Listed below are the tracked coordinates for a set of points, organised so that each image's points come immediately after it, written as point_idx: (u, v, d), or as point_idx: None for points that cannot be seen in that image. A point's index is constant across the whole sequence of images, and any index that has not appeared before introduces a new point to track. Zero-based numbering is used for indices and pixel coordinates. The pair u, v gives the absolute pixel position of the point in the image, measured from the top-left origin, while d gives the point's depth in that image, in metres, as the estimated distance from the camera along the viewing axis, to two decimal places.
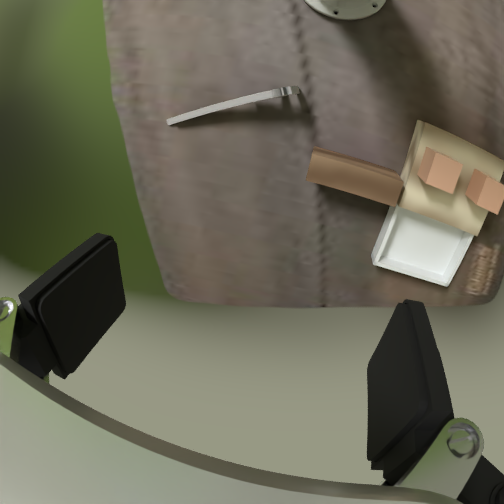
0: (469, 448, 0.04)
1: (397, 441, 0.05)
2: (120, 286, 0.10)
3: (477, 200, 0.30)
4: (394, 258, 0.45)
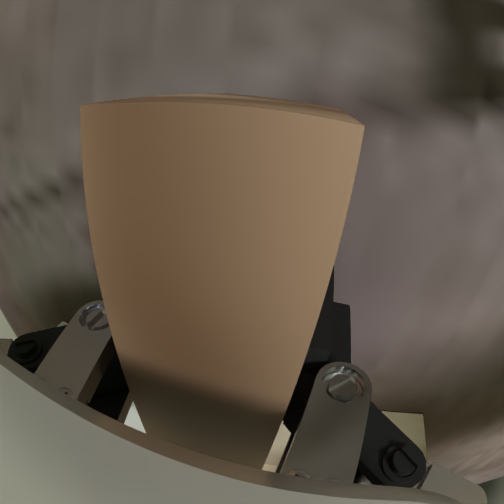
0: (355, 388, 0.06)
1: None
2: None
3: None
4: None
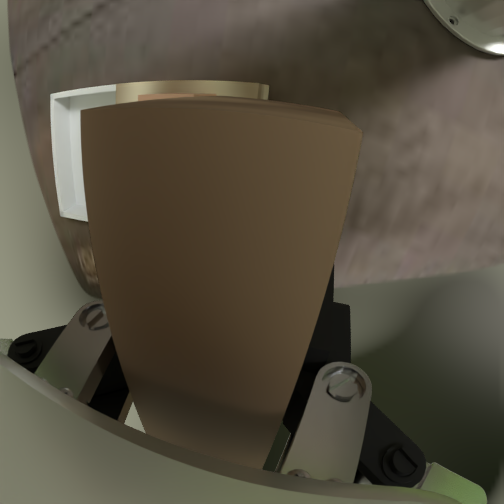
0: (356, 388, 0.06)
1: None
2: None
3: None
4: (71, 123, 0.27)
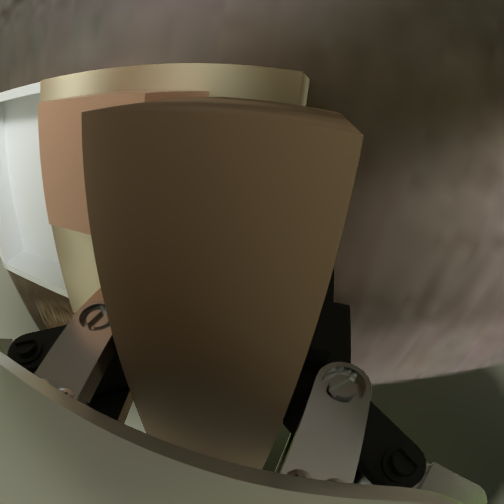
0: (355, 388, 0.06)
1: None
2: None
3: None
4: (6, 140, 0.16)
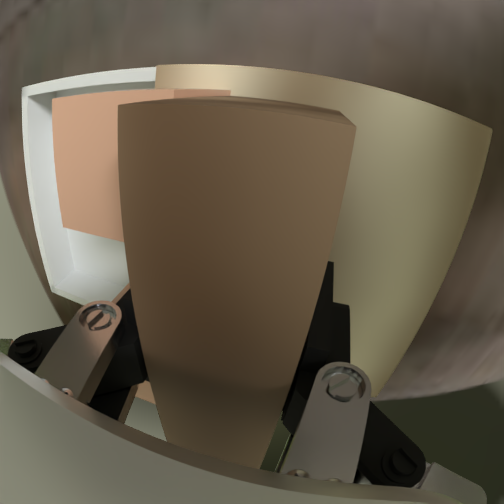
0: (355, 388, 0.06)
1: (292, 385, 0.07)
2: None
3: None
4: None
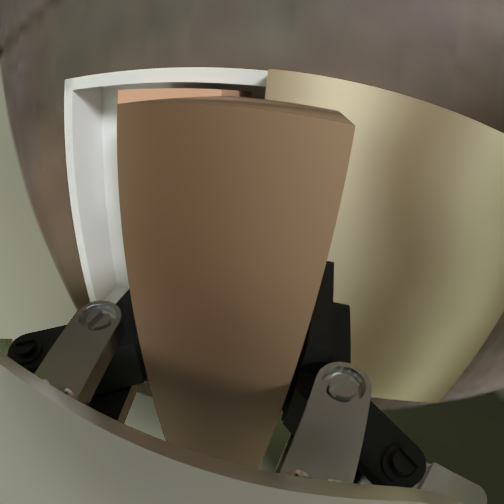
0: (356, 388, 0.06)
1: (293, 385, 0.07)
2: None
3: None
4: (105, 142, 0.15)
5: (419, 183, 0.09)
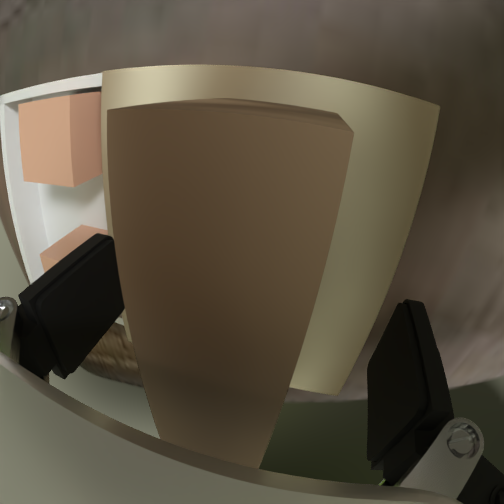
0: (469, 447, 0.04)
1: (397, 441, 0.05)
2: (120, 286, 0.10)
3: (76, 228, 0.17)
4: None
5: None
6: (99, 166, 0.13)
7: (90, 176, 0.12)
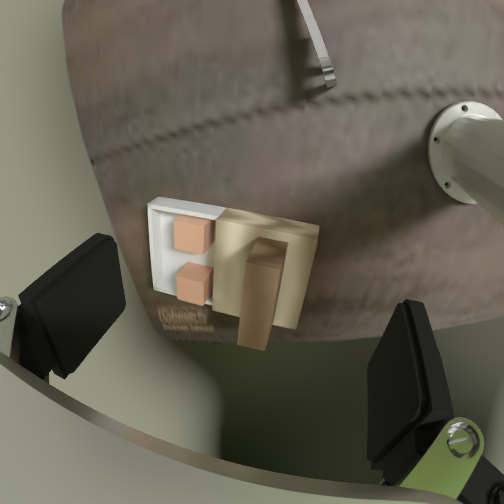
0: (470, 447, 0.04)
1: (397, 441, 0.05)
2: (120, 286, 0.10)
3: (186, 263, 0.44)
4: (162, 223, 0.42)
5: None
6: (208, 245, 0.40)
7: (206, 249, 0.39)
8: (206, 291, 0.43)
